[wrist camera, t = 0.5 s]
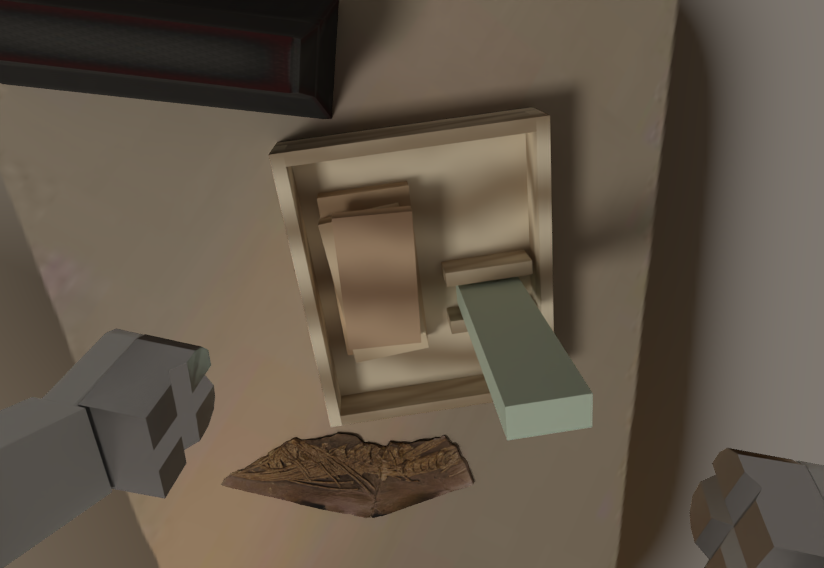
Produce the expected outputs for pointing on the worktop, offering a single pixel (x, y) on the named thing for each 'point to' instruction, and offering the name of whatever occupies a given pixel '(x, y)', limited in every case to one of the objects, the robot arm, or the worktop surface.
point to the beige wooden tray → (424, 246)
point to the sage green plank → (523, 361)
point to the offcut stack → (374, 269)
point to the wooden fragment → (355, 474)
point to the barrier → (177, 51)
